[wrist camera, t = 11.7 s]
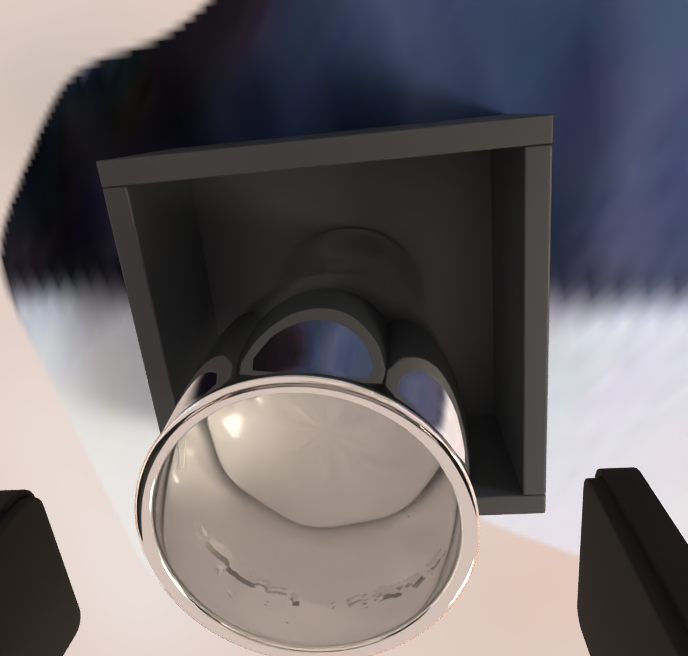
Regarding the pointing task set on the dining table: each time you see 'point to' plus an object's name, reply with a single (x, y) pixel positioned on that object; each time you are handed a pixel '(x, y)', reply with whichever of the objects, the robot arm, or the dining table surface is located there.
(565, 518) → the dining table surface
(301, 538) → the beer glass
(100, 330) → the dining table surface
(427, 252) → the bin
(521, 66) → the dining table surface
